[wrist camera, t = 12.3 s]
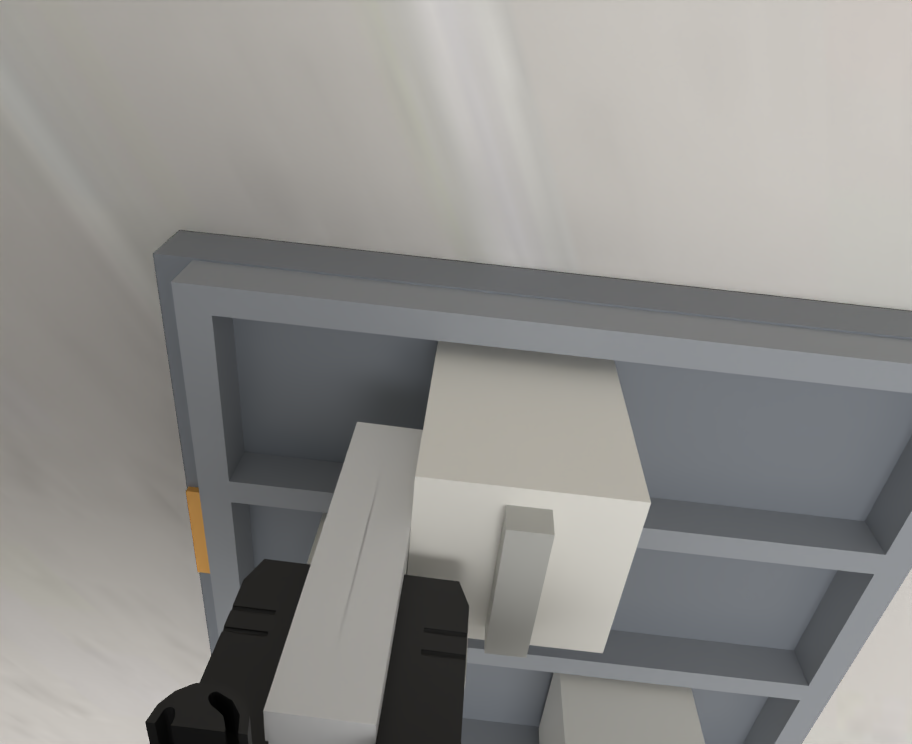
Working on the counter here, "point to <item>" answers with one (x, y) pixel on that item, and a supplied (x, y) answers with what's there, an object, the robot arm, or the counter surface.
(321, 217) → the counter surface
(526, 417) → the tab
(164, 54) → the counter surface
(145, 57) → the counter surface
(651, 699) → the tab
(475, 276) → the switch bank
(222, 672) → the robot arm
